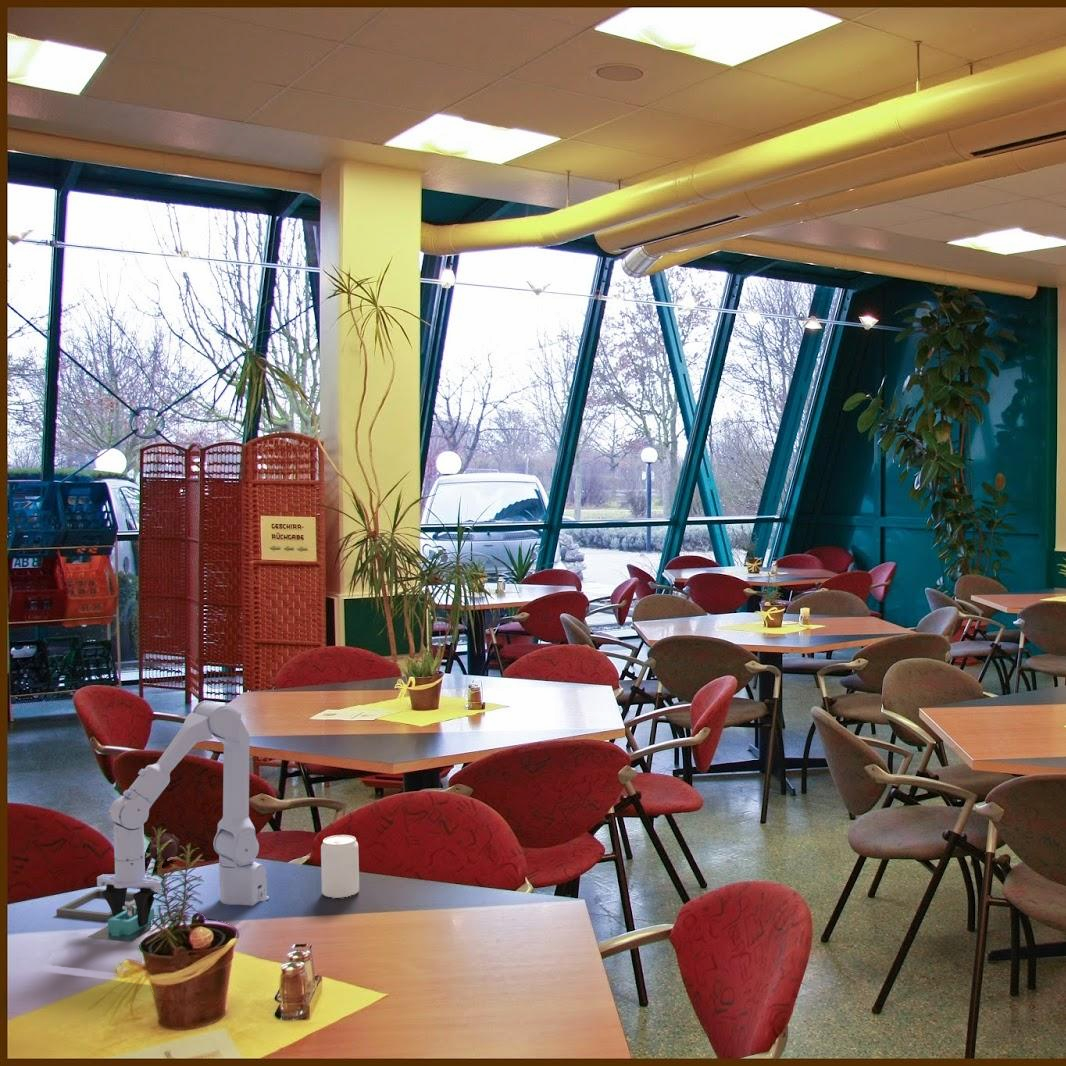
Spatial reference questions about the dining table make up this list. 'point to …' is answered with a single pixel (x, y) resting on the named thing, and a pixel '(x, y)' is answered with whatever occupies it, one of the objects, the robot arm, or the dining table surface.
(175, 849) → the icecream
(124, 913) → the teal open-top box
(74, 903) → the tray
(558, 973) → the dining table surface
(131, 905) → the stand
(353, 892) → the beverage can
